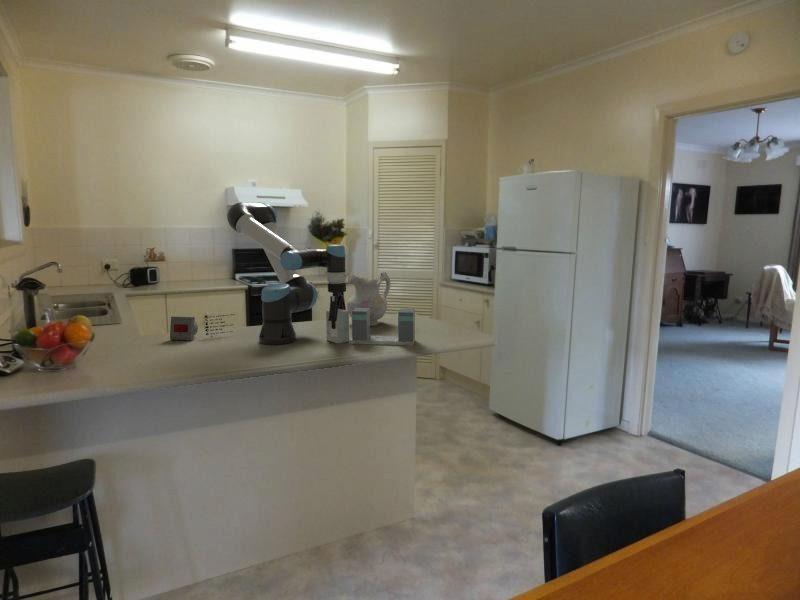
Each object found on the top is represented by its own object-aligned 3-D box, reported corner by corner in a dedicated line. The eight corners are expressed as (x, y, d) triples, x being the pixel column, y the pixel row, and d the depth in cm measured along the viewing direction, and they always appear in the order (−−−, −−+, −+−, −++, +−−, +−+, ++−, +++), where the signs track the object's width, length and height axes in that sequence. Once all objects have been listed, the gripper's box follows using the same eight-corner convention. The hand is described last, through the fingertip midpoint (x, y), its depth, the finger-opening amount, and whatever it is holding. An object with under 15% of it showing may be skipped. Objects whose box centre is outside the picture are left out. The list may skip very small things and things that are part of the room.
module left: (352, 340, 209) (351, 311, 208) (356, 335, 218) (355, 307, 216) (366, 340, 209) (366, 311, 207) (370, 335, 217) (370, 308, 215)
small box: (349, 341, 214) (349, 310, 212) (336, 343, 210) (336, 312, 208) (339, 337, 220) (338, 308, 218) (326, 340, 216) (325, 309, 214)
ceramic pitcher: (376, 319, 263) (373, 271, 260) (400, 323, 248) (397, 271, 245) (340, 325, 249) (337, 274, 247) (363, 329, 234) (360, 275, 232)
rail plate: (349, 343, 210) (349, 340, 209) (354, 338, 218) (354, 335, 218) (412, 345, 207) (412, 342, 206) (414, 340, 215) (414, 336, 215)
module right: (398, 341, 207) (398, 312, 205) (400, 336, 215) (400, 308, 213) (413, 341, 207) (413, 312, 205) (414, 337, 215) (415, 309, 213)
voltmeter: (170, 343, 210) (169, 320, 208) (168, 337, 220) (167, 315, 218) (237, 336, 222) (236, 314, 221) (232, 331, 232) (231, 309, 231)
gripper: (338, 286, 198) (340, 339, 201) (352, 278, 222) (353, 326, 226) (319, 286, 199) (321, 339, 202) (335, 278, 223) (336, 326, 227)
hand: (338, 332), depth 214 cm, fingers open, 13 cm apart
